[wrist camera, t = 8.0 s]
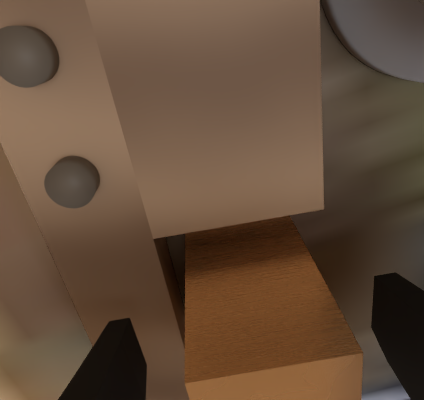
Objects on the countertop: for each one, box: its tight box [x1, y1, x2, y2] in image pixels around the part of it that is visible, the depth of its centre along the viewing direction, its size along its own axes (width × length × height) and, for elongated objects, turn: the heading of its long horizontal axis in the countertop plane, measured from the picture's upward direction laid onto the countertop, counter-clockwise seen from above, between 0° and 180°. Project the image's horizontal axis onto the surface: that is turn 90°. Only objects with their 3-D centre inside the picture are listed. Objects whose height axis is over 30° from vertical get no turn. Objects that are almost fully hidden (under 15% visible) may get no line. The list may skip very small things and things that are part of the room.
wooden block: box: [185, 216, 363, 400], centre depth 10 cm, size 4×4×6 cm
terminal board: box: [0, 0, 324, 400], centre depth 11 cm, size 16×8×2 cm, turn 9°
